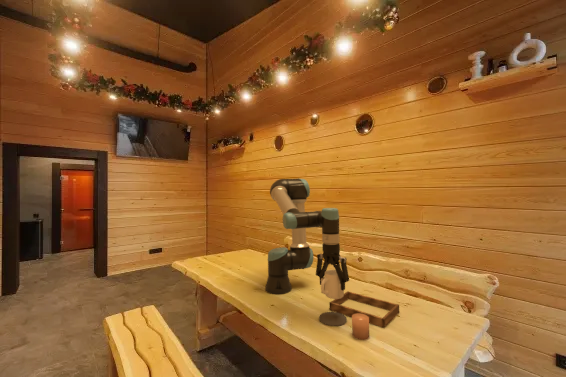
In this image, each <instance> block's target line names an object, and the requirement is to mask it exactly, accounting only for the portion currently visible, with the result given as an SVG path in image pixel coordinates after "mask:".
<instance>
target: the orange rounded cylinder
mask: <svg viewBox="0 0 566 377" xmlns="http://www.w3.org/2000/svg"><path fill="white" fill-rule="evenodd" d="M351 325H352V326H351V327H352V328H351V330H352V331H351V332H352V333H351V334H352V337H353V338H355V340H360V341H365V340H368V339H370V323H369V317H368V316H367V315H365V314H360V313H357V314H353V315H352V317H351Z"/></svg>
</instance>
